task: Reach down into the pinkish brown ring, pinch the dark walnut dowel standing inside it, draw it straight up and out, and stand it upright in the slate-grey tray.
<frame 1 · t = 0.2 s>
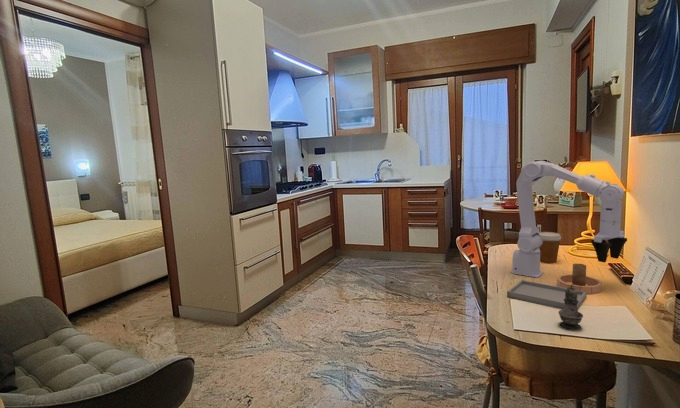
hand: (608, 259, 130), 10 cm above the table, tool pointing down, fingers open, 7 cm apart
pinkish brown ring: (578, 287, 133), on the table
disposable coffee cup: (548, 261, 164), on the table
dowel: (579, 276, 133), in the pinkish brown ring
tray: (546, 297, 126), on the table
dark grey figurine: (570, 326, 105), on the table
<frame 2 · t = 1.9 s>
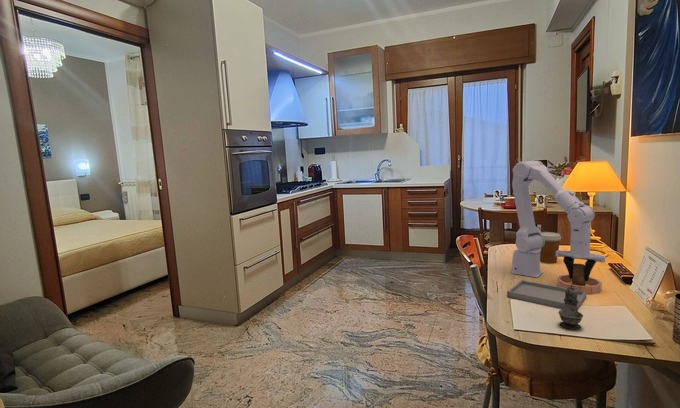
hand: (578, 279, 133), 3 cm above the table, tool pointing down, fingers closed on dowel, 4 cm apart
dowel: (579, 276, 133), in the pinkish brown ring, touching gripper
everything else where it was.
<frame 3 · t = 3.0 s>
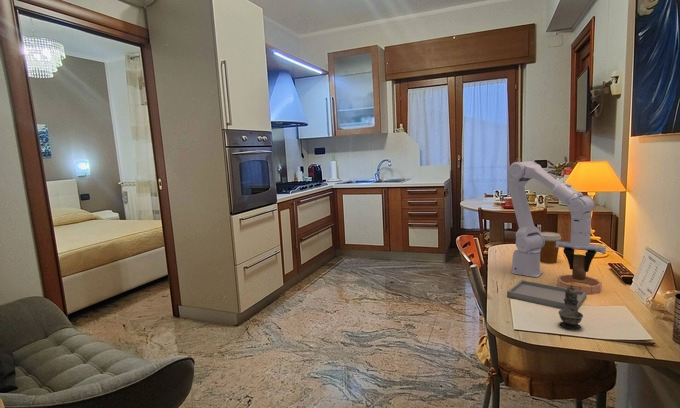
hand: (579, 269, 132), 6 cm above the table, tool pointing down, fingers closed on dowel, 4 cm apart
dowel: (579, 267, 132), point 7 cm above the table, touching gripper
everything else where it was.
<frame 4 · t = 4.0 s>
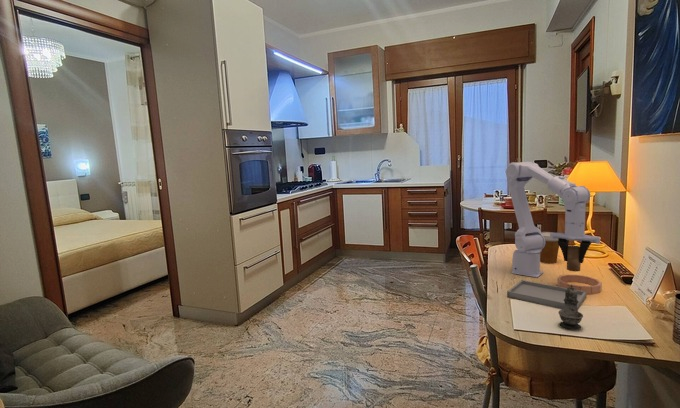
hand: (573, 261, 130), 10 cm above the table, tool pointing down, fingers closed on dowel, 4 cm apart
dowel: (573, 258, 130), point 11 cm above the table, touching gripper
everything else where it was.
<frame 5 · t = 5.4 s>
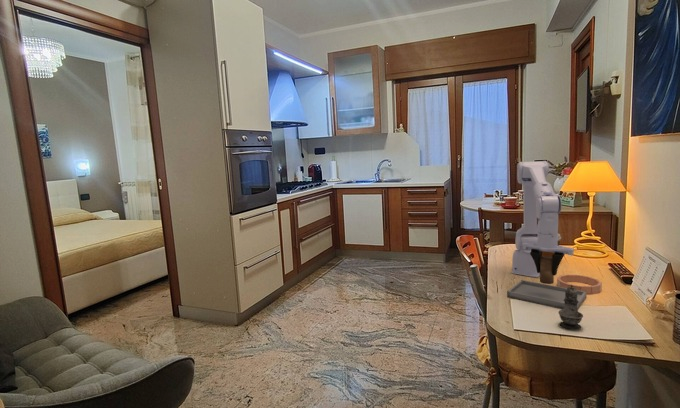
hand: (546, 273, 125), 8 cm above the table, tool pointing down, fingers closed on dowel, 4 cm apart
dowel: (546, 270, 125), point 9 cm above the table, touching gripper
everything else where it was.
when the fingers open (5 cm above the table, at t = 6.3 s): dowel drops 1 cm, resting on tray.
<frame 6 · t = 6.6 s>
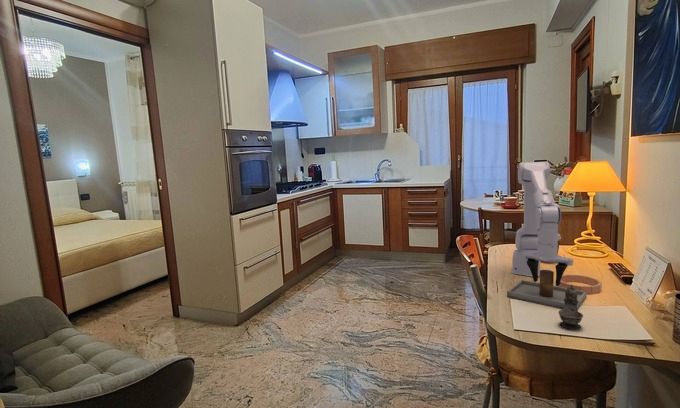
hand: (546, 283, 125), 5 cm above the table, tool pointing down, fingers open, 6 cm apart
dowel: (546, 283, 125), in the tray, point 5 cm above the table
everything else where it was.
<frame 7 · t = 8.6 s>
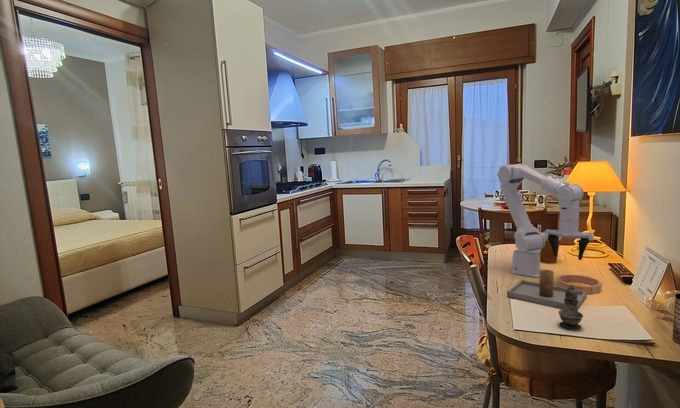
hand: (567, 257, 134), 10 cm above the table, tool pointing down, fingers open, 7 cm apart
nothing on the table moved.
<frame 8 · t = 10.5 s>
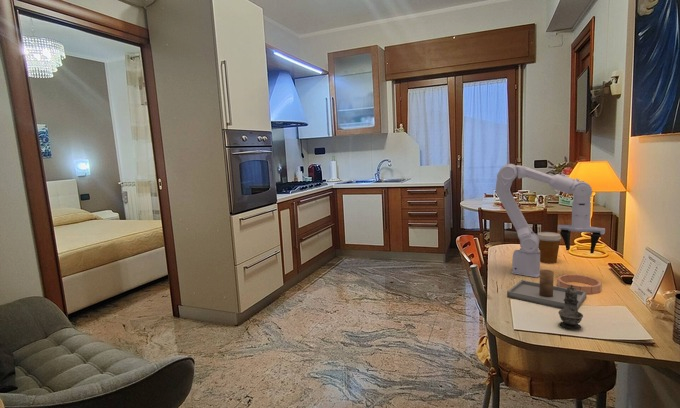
hand: (579, 251, 140), 10 cm above the table, tool pointing down, fingers open, 7 cm apart
nothing on the table moved.
at the end: dowel inside the target area on the tray (0.0 cm from its centre), point 4.8 cm above the tray's base; dowel tilted 1°; the gripper is holding nothing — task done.
